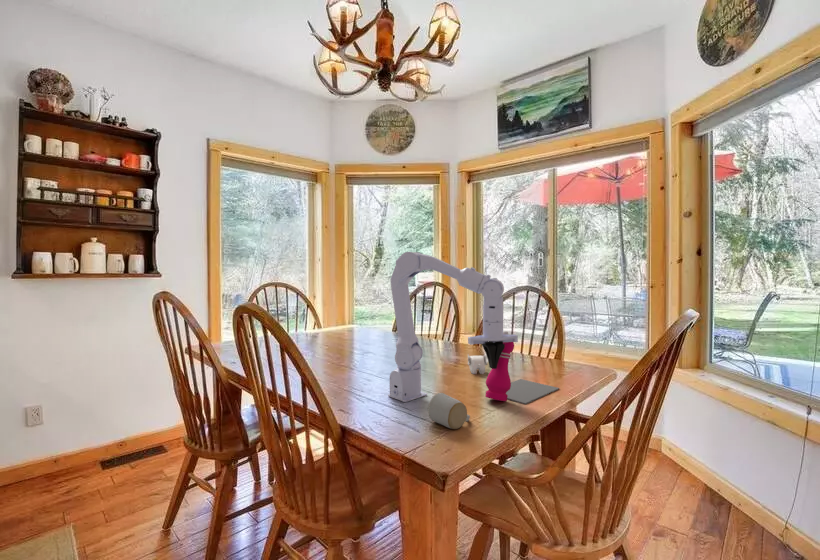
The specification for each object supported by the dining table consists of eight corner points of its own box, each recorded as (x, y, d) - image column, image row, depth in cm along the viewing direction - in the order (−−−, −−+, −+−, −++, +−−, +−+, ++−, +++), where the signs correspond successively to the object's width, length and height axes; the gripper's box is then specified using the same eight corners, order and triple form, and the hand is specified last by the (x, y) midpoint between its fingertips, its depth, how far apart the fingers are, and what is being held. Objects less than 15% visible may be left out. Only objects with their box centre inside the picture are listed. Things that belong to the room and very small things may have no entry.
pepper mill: (513, 402, 119) (522, 334, 123) (500, 401, 114) (510, 330, 118) (491, 397, 124) (501, 332, 128) (478, 395, 119) (489, 328, 123)
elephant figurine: (484, 368, 157) (484, 350, 156) (490, 375, 147) (490, 355, 147) (464, 368, 156) (464, 350, 156) (469, 375, 147) (468, 356, 147)
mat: (525, 404, 117) (525, 403, 117) (485, 393, 127) (485, 391, 127) (559, 389, 131) (559, 387, 131) (520, 380, 141) (520, 378, 141)
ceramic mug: (449, 434, 98) (449, 403, 97) (427, 424, 104) (427, 395, 103) (477, 423, 104) (477, 395, 104) (454, 414, 110) (455, 387, 110)
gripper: (510, 318, 123) (509, 362, 123) (464, 320, 119) (464, 365, 120) (521, 321, 116) (521, 368, 116) (473, 323, 113) (473, 372, 113)
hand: (493, 367), depth 118 cm, fingers closed
